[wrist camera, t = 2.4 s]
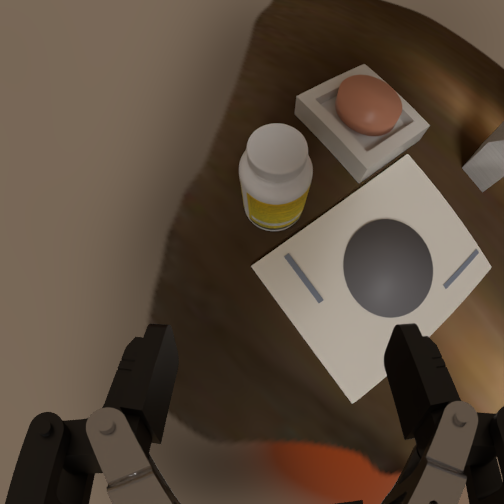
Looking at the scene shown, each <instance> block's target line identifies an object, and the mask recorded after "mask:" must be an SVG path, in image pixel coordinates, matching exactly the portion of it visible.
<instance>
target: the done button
mask: <svg viewBox="0 0 504 504" xmlns="http://www.w3.org/2000/svg"><path fill="white" fill-rule="evenodd" d="M335 108H336V112H337V114H338V116H339V118H340V119H341V120H342V121H343V123H344V124H346V125H347V126H348V127H349V128H351V129H352V130H354V131H356V132H358V133H360V134H363V135H367V136H382V135H385V134H387V133H389V132H390V131H391V130H392V129H393V128H394V126H395V124H396V122H397V121H398V119H399V117H400V115H401V113H402V102H401V99H400V97H399V96H398V94H397V93H396V91H395V90H394V89H393V88H392V87H391V86H390V85H388V84H387V83H385V82H384V81H382V80H380V79H378V78H375V77H372V76H368V75H353V76H350V77H348V78H346V79H345V80H343V81H342V83H341V84H340V87H339V90H338V94H337V97H336V101H335Z"/></svg>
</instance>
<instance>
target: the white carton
mask: <svg viewBox="0 0 504 504" xmlns="http://www.w3.org/2000/svg"><path fill="white" fill-rule="evenodd" d="M462 169H463V170H464V171H465V172H466V173H467V174H468V176H469V177H470V178H471V179H472V180H473V181H474V183H475V184H476V185H477V186H478V188H479V189H480V190H481V191H482V192H484V191H485V190H486V189H488V188H489V187H490V186H492V185H493V184H494V183H496V182H497V181H498V180H500V179H501V178H502V177H503V176H504V121H503V123H502V124H501V125H500V126H499V127H498V128H497V129H496V130H495V131H494V132H493V133H492V134H491V135H490V136H489V137H488V138H487V139H486V140H485V141H484V142H483V143H482V145H481V146H480V147H479V148H478V149H477V151H476V152H475V153H474V154H473V155H472V157H471V158H470V159H469V160H468V161H467V162H466V164H465V165H464V166H463V167H462Z"/></svg>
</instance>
